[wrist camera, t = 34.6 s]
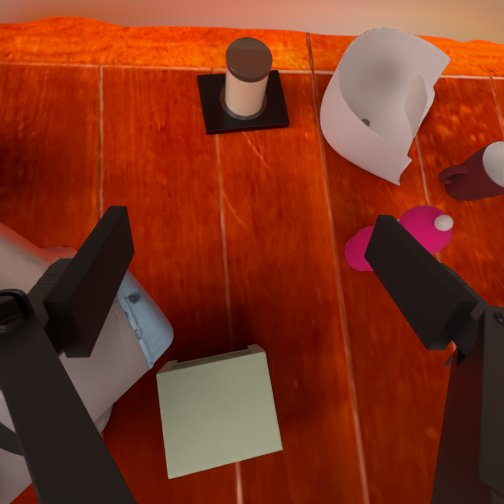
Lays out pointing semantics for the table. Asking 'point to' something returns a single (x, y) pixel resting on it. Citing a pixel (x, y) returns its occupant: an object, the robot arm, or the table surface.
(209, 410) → the small table
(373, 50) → the white curved piece
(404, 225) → the pepper mill
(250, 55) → the jar
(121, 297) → the robot arm
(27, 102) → the table surface
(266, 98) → the hob plate
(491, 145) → the mug
